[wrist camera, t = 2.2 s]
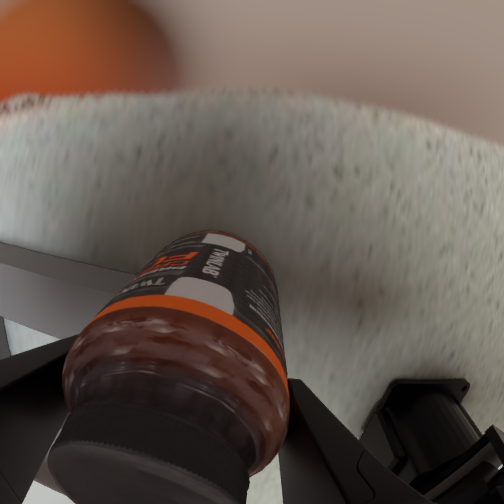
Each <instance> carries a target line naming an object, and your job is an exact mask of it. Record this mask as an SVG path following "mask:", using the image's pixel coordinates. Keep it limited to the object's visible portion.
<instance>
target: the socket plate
mask: <svg viewBox="0 0 504 504" xmlns="http://www.w3.org/2000/svg"><path fill="white" fill-rule="evenodd" d="M135 276H136V275H134V274H130V273H125V272H120V271H116V270H111V269H107V268H102V267H98V266H93V265H89V264H85V263H81V262H76V261H72V260H68V259H64V258H60V257H55V256H51V255H47V254H43V253H39V252H35V251H31V250H27V249H24V248H20V247H16V246H12V245H8V244H5V243H1V242H0V360H1V359H4V358H7V357H10V352H9V347H8V343H7V338H6V333H5V327H4V322H3V317H4V318H7V319H9V320H11V321H14V322H16V323H19V324H21V325H24V326H26V327H29V328H32V329H34V330H37V331H40V332H42V333H45V334H48V335H50V336H53V337H56V338H59V339H65V338H68V337H71V336H74V335H77V334H80V333H81V332H82V330H83V329H84V328H85V327H86V326H87V325H88V324H89V323H90V322H91V321H92V320H93V318H94V317H95V316H96V314H97V313H98V312H99V311H100V310H101V309H102V308H103V307H104V306H105V305H106V304H107V303H109V301H110V300H112V299H113V298H114V297H115V295H116V294H117V293H118V292H119V291H120V290H121V289H122V288H123V287H125V286H126V285H127V284H128V283H129V282H130V281H131V280H132V279H133V278H134V277H135ZM69 414H70V413H69ZM69 414H68V415H69ZM67 417H68V416H67ZM66 419H67V418H66ZM65 421H66V420H65ZM65 421H64V423H65ZM64 423H63V425H64ZM63 425H62V427H61V429H60V430H59V432H58V434H57V436H56V438H55V440H56V439H57V437H58V435H59V434H60V432H61V430H62V428H63ZM55 440H54V441H53V443H52V445H53V444H54V443H55ZM52 445H51V447H52ZM51 447H50V449H51ZM50 449H49V451H50ZM49 451H48V453H47V455H46V457H45V459H44V460H43V462H42V464H41V466H40V468H39V470H38V472H37V474H36V476H35V478H34V480H35V481H36V482H38V483H40V484H43V485H44V486H47V487H49V488H51V489H53V490H55V491H57V492H59V493H62V494H64V495H66V494H65V493H64V492H63V491H62V490H61V489H60V488H59V487H58V485H57V484H56V483H55V481H54V479H53V477H52V475H51V473H50V471H49V468H48V464H47V459H48V455H49ZM66 496H67V495H66Z"/></svg>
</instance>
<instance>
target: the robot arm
mask: <svg viewBox="0 0 504 504" xmlns="http://www.w3.org/2000/svg"><path fill="white" fill-rule="evenodd" d="M78 335H79V334H77V335H74V336H71V337H68V338H65V339H62V340H59V341H56V342H53V343H50V344H47V345H44V346H41V347H37V348H34V349H31V350H28V351H25V352H22V353H19V354H16V355H13V356H10V357H7V358H4V359H1V360H0V504H22V503H23V501H24V499H25V497H26V494H27V492H28V490H29V488H30V486H31V484H32V482H33V480H34V478H35V476H36V474H37V472H38V470H39V468H40V466H41V464H42V462H43V460H44V459H45V457H46V455H47V453H48V451H49V449H50V447H51V445H52V443H53V441H54V440H55V438H56V436H57V434H58V432H59V430H60V429H61V427H62V425H63V423H64V421H65V420H66V418H67V416H68V414H69V413H70V412H69V410H68V407H67V405H66V402H65V397H64V392H63V388H62V371H63V367H64V363H65V359H66V356H67V354H68V352H69V349H70V347H71V345H72V343H73V342H74V340H75V339H76V338H77V336H78ZM398 387H399V388H398ZM469 387H470V384H469V383H468V381H467V380H396V381H393V382H392V383H391V384H390V386H389V388H388V390H387V392H386V394H385V396H384V398H383V400H382V402H381V404H380V405H379V407H378V409H377V411H376V412H375V414H374V415H373V417H372V419H371V421H370V423H369V425H368V426H367V428H366V430H365V432H364V434H363V435H362V437H361V440H360V441H359V440H358V439H357V438H356V437H355V436H354V435H353V434H352V433H351V432H350V431H349V430H348V429H347V428H346V427H345V426H344V425H343V424H342V423H341V422H340V421H339V420H338V419H337V418H336V417H335V415H334V414H333V413H332V412H331V411H330V410H329V409H328V408H327V407H326V406H325V405H324V404H323V403H322V402H321V401H320V400H319V399H318V397H317V396H316V395H315V394H314V393H313V392H312V391H311V390H310V389H309V388H308V387H307V386H306V385H305V383H304V382H303V381H302V380H300V379H291V378H289V379H288V391H289V401H290V413H289V425H288V432H287V434H286V437H285V440H284V443H283V445H282V446H281V448H280V450H279V452H278V455H279V465H280V475H281V485H282V495H283V504H504V433H503V432H502V431H501V430H499V429H498V428H497V427H495V426H494V425H493V424H492V425H491V426H490V427H489V428H488V429H487V430H486V431H485V434H484V435H482V434H481V432H480V431H479V429H478V428H477V426H476V425H475V423H474V422H473V420H472V419H471V418H470V416H469V415H468V413H467V412H466V411H465V409H464V408H463V406H462V405H461V404H460V403H461V402H462V400H463V398H464V396H465V395H466V393H467V391H468V389H469ZM396 388H398V389H396ZM501 464H502V465H503V467H502V468H501V469H500V470H498V469H497V468H498V467H499V466H500V465H501Z"/></svg>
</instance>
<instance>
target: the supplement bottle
mask: <svg viewBox="0 0 504 504" xmlns="http://www.w3.org/2000/svg"><path fill="white" fill-rule="evenodd" d="M62 388H63V392H64V397H65V402H66V405H67V407H68V410H69V412H70V414H69V415H68V417H67V419H66V421H65V423H64V425H63V428H62V430H61V432H60V434H59V435H58V437H57V439H56V440H55V443H54V444H53V445H52V447H51V449H50V451H49V455H48V459H47V464H48V468H49V471H50V473H51V475H52V477H53V479H54V481H55V483H56V484H57V485H58V487H59V488H60V489H61V490H62V491H63V492H64V493H65V494H66V495H67V496H68V497H69V498H70V499H71V500H72V501H73V502H74V503H75V504H246V498H247V490H248V489H249V484H250V481H249V478H250V477H251V476H253V475H255V474H257V473H258V472H260V471H262V470H263V469H264V468H265V467H266V466H267V465H268V464H269V463H270V462H271V461H272V460H273V458H274V457H275V456H276V455H277V453H278V452H279V450H280V448H281V446H282V445H283V443H284V440H285V437H286V434H287V432H288V425H289V413H290V401H289V391H288V379H287V369H286V360H285V352H284V343H283V334H282V326H281V318H280V309H279V300H278V292H277V287H276V283H275V279H274V276H273V273H272V271H271V269H270V267H269V265H268V263H267V262H266V260H265V258H264V257H263V256H262V255H261V254H260V253H259V252H258V251H257V250H256V249H255V248H254V247H253V246H252V245H250V244H249V243H247V242H246V241H244V240H242V239H240V238H238V237H236V236H234V235H231V234H227V233H224V232H217V231H201V232H195V233H192V234H188V235H186V236H184V237H181V238H179V239H178V240H176V241H174V242H173V243H171V244H170V245H168V246H166V247H165V248H164V249H163V250H161V251H160V252H159V253H158V254H157V255H156V256H155V258H154V259H152V260H151V261H150V262H149V263H148V264H147V265H146V266H145V267H144V268H143V269H142V270H141V271H140V272H139V273H138V274H137V275H136V276H135V277H134V278H133V279H132V280H131V281H130V282H129V283H128V284H127V285H126V286H125V287H123V288H122V289H121V290H120V291H119V292H118V293H117V294H116V295H115V297H114V298H113V299H112V300H110V301H109V303H107V304H106V305H105V306H104V307H103V308H102V309H101V310H100V311H99V312H98V313H97V314H96V316H95V317H94V318H93V320H92V321H91V322H90V323H89V324H88V325H87V326H86V327H85V328H84V329H83V330H82V332H81V333H80V334H79V335H78V336H77V338H76V339H75V340H74V342H73V343H72V345H71V347H70V349H69V352H68V354H67V356H66V359H65V363H64V367H63V371H62Z"/></svg>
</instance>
